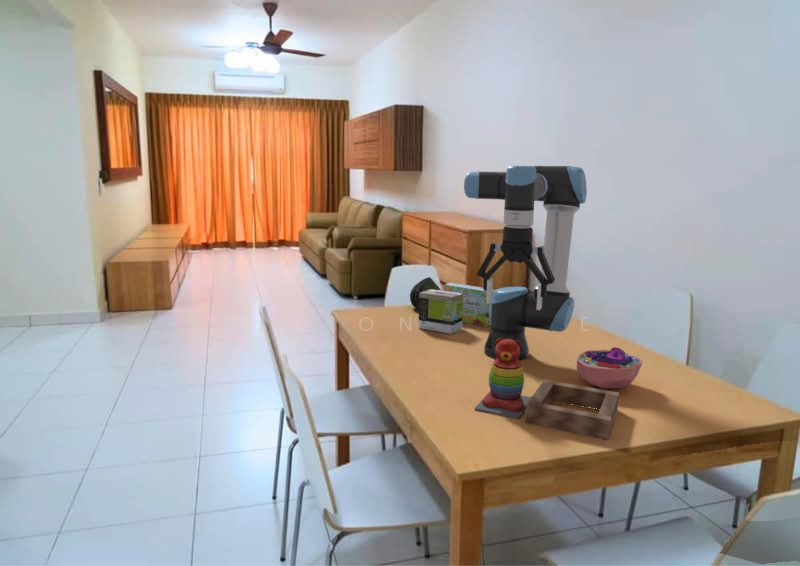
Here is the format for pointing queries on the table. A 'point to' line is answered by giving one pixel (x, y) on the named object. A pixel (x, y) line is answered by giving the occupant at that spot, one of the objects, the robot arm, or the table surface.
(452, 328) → the tea box
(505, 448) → the table surface
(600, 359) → the cell model
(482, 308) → the snack box
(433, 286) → the squash
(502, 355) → the stacking bear
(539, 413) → the square wooden frame
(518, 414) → the rubber mat
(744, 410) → the table surface
